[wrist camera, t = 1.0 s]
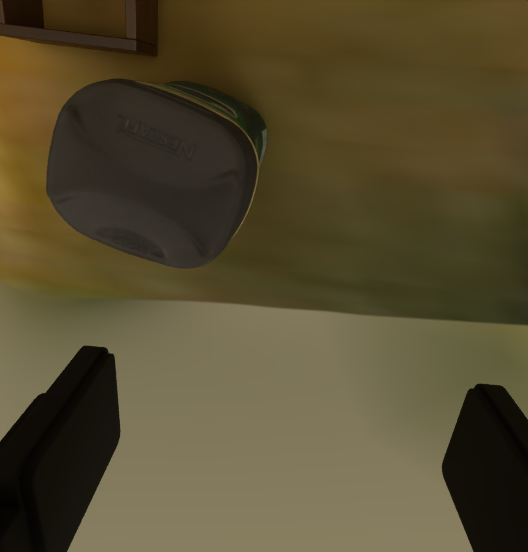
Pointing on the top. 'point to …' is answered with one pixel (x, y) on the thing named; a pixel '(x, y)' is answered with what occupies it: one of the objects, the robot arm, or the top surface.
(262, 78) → the top surface
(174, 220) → the coffee jar
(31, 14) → the pen box
